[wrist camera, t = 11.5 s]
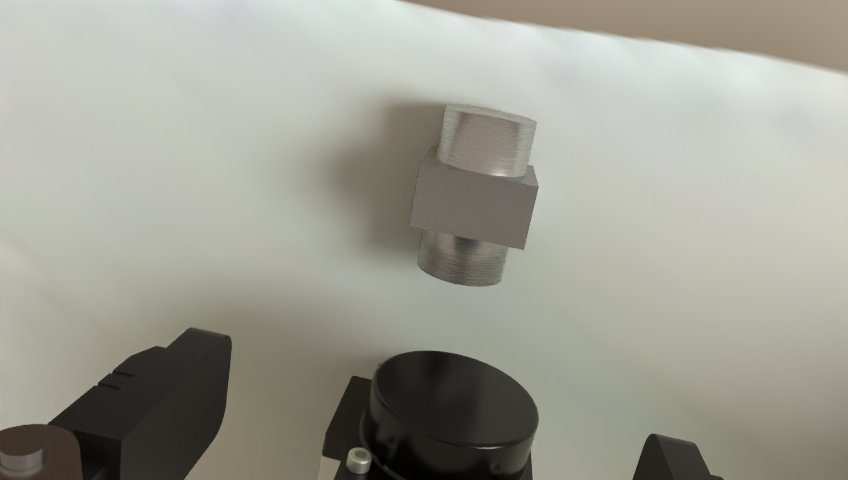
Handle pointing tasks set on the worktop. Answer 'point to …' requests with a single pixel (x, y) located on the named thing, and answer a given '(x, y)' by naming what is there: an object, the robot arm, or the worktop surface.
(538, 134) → the worktop surface
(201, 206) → the worktop surface
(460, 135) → the coupling
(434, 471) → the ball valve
